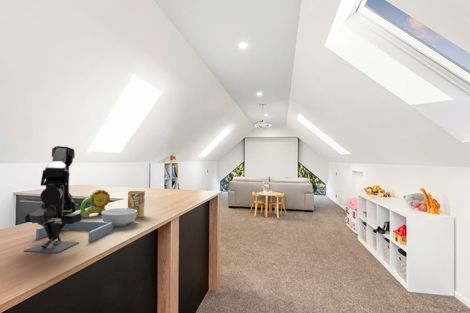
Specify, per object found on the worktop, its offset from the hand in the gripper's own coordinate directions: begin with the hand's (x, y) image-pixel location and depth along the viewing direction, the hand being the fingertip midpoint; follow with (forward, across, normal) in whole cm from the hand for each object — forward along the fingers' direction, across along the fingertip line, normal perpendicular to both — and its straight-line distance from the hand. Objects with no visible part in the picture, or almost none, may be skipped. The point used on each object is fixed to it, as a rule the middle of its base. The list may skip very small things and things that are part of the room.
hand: (52, 240), depth 93 cm
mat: (+3, 0, 0) cm, 3 cm away
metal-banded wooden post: (+2, 0, 0) cm, 2 cm away
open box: (+3, -2, +16) cm, 16 cm away
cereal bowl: (+3, +7, +34) cm, 35 cm away
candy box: (+3, +7, +52) cm, 53 cm away
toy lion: (+3, -17, +50) cm, 53 cm away
